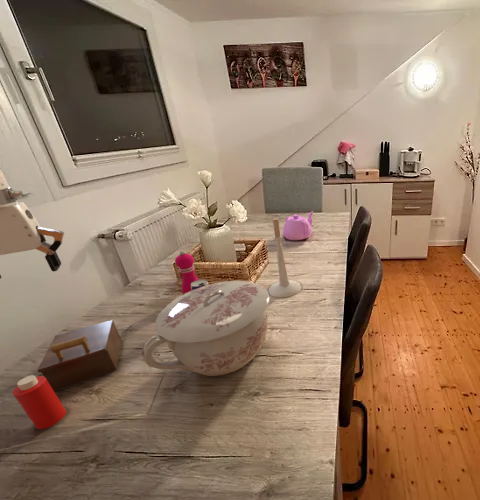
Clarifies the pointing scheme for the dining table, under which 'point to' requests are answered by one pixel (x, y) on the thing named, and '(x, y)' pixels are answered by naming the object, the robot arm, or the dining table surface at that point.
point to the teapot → (298, 227)
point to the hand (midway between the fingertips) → (27, 274)
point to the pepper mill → (186, 270)
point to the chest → (86, 365)
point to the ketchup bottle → (39, 401)
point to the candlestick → (282, 270)
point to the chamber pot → (212, 328)
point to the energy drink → (198, 284)
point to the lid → (77, 345)
